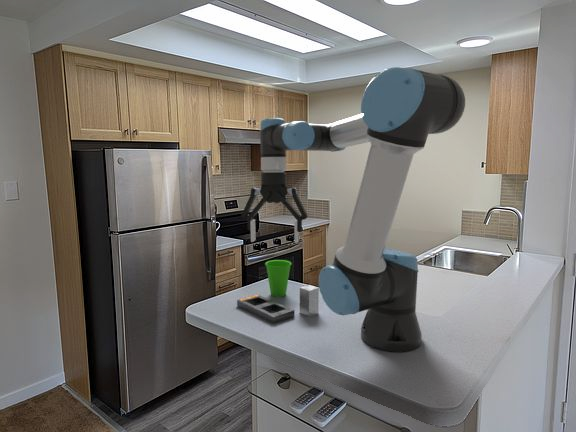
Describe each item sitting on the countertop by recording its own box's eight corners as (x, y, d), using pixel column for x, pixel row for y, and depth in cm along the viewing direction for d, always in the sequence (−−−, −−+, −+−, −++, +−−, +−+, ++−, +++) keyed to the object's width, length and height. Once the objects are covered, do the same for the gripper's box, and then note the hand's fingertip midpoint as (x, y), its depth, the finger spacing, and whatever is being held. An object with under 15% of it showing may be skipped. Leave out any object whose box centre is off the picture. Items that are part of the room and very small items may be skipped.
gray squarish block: (318, 313, 118) (318, 287, 117) (308, 317, 115) (309, 290, 114) (308, 309, 121) (309, 284, 120) (299, 313, 118) (299, 287, 117)
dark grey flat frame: (294, 316, 116) (294, 309, 115) (273, 323, 110) (273, 316, 110) (257, 300, 129) (257, 294, 129) (237, 306, 124) (237, 299, 123)
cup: (288, 299, 130) (288, 267, 128) (262, 297, 131) (261, 265, 130) (293, 291, 138) (293, 260, 137) (268, 289, 140) (268, 259, 139)
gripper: (316, 171, 119) (316, 240, 121) (237, 172, 124) (239, 238, 126) (313, 171, 111) (313, 245, 114) (229, 172, 116) (231, 242, 119)
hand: (274, 241), depth 120 cm, fingers open, 13 cm apart
